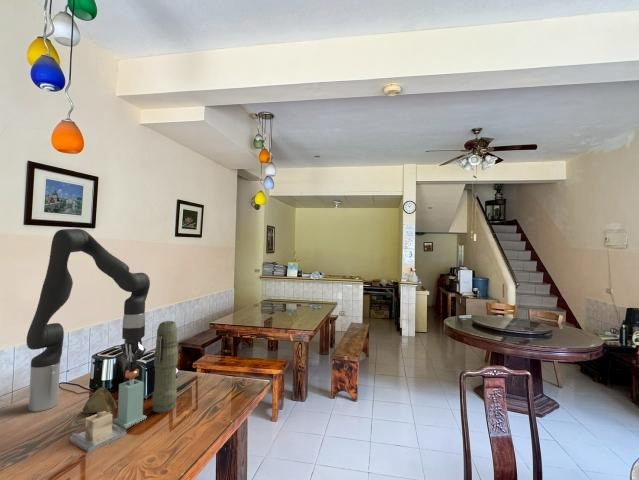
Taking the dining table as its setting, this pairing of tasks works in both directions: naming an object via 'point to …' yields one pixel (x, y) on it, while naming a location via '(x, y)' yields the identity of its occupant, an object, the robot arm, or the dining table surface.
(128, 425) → the column
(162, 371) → the thermos
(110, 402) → the rock
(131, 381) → the plunger
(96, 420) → the block
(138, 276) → the robot arm
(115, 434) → the grey square tray
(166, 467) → the dining table surface
